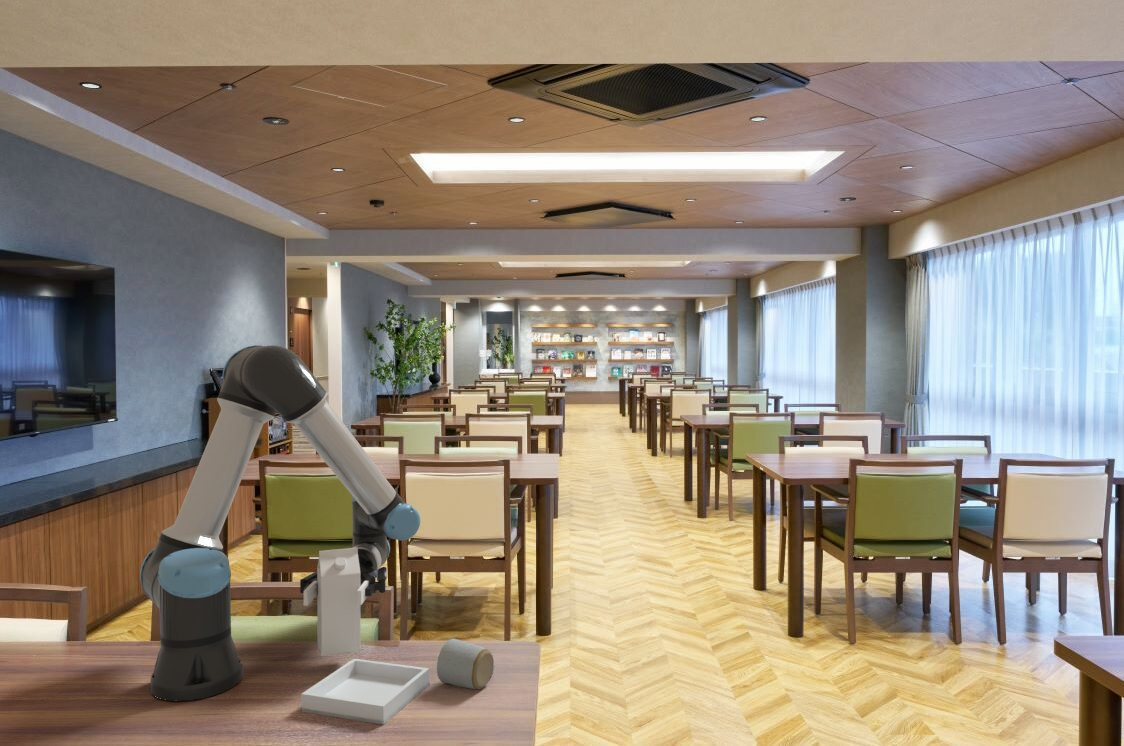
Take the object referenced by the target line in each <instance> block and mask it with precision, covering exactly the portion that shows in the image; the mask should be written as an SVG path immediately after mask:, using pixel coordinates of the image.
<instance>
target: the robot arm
mask: <svg viewBox="0 0 1124 746" xmlns="http://www.w3.org/2000/svg"><path fill="white" fill-rule="evenodd" d="M327 396H328V392H327V391H326V390H325V388H324V387H323V386H322V384H321V383H320V382H319V381H318V379H317V378H316V376H315V375H314V373H313V372H312V371H311V370H310V368H309V367H308V366H307V365H306V363H305V362H304V361H303V359H302V358H300V357H299V356H298V355H297V354H296V353H295V352H294V351H292V350H290V349H289V348H286V347H284V346H281V345H280V346H279V345H261V344H258V345H256V344H255V345H249V346H246V347H243V348H241V349H238V351H236V352H234V353H233V354H232V355H231V356H229V358H228V359H227V360H226V362H225V364H224V367H223V370H222V386H221V389H220V390H219V394H218V396H217V397H216V401H217V403H218V405H219V407H220V411H219V414H218V418H217V420H216V421H215V425H214V426H213V429H212V431H211V434H210V436H209V438H208V441H207V444H206V446H205V449H204V451H203V453H202V456H201V458H200V461H199V463H198V465H197V468H196V470H195V473H194V475H193V478H192V481H191V482H190V484H189V486H188V487H189V488H188V490H187V492H186V495H185V498H183V502H182V505H181V506H180V510H179V512H178V514H177V516H176V519H175V521H174V524H172V525H171V526H169V527H167V528H165V529H163V530H162V531H161V533H160V536H159V538H158V541H157V542H156V545H155V547H153V548H152V549H151V550H150V551H149V552H148V553H147V555H145V558H144V559H143V560H142V563H141V565H140V571H139V572H140V573H139V578H140V584H141V588H142V591H143V592H144V594H145V596H146V597H147V598H148V599H149V600H150V601H151V602H153V603H154V604H155V606H156V607H157V608H158V610H159V628H160V629H159V630H160V632H159V633H160V634H159V635H160V648H159V651H158V654H157V658H156V661H155V665H154V668H153V669H154V670H153V672H152V674H151V677H150V694H151V693H152V694H153V695H154V696H156V697H158V698H161V699H166V700H173V701H172V702H182V701H181V700H188V701H195V700H194V699H196V700H200V698H201V699H206V698H209V697H212V696H213V697H214V696H216V695H218V694H221V693H224V692H226V691H228V690H230V689H232V688H234V687H235V686H237V684H239V683H240V682H241V681H242V679H243V663H242V662H243V661H241V658H240V657H239V656H238V652H237V649H236V645H235V643H234V640H233V637H232V613H231V612H232V608H231V607H232V606H231V603H232V602H231V599H232V597H231V596H232V595H231V577H232V570H231V567H230V561H229V557H228V556H227V555H226V554H225V553H224V552H222V551H223V548H224V546H223V544H222V541H221V539H220V534H221V532H222V529H223V527H224V524H225V522H226V520H227V517H228V516H229V515H228V514H229V512H230V509H231V507H232V504H233V501H234V499H235V496H236V494H237V492H238V489H239V487H240V484H241V481H242V479H243V478H244V477H243V476H244V474H245V472H246V470H247V467H248V464H249V462H250V460H251V456H252V454H253V451H254V448H255V446H256V444H257V442H258V439H259V437H260V434H261V432H262V430H263V426H264V425H265V423H267V422H270V421H271V420H274V419H275V417H276V415H277V414H278V415H279V416H280V417H281V418H282V419H283V421H285V423H286V424H287V423H289V424H293V425H294V426H295V427H296V428H297V429H298V430H299V432H300V433H301V434H302V436H303V437H304V438H305V440H306V441H307V442H308V443H309V444H310V446H311V447H312V448H313V449H314V450H315V451H316V453H317V454H318V455H319V457H320V458H321V459H322V460H323V461H324V463H325V464H326V465H327V466H328V468H329V469H330V470H331V471H332V473H333V474H334V475H335V476H336V478H337V479H338V481H339V482H341V484H342V485H343V486H344V487H345V489H346V490H347V491H348V492H349V494H351V496H352V501H351V505H352V506H351V507H352V548H358V559H359V566H360V588H359V589H358V590H357V605H360V606H362V605H363V604H364V602H365V601H366V599H367V598H368V597H371V596H373V595H374V594H375V593H376V592H377V591H378V592H379V593H381V594H384V593H386V581H387V575H388V574H387V569H388V568H387V567H386V566H384V564H385V563H386V562H387V560H388V558H389V555H390V552H391V546H390V543H389V540H388V539H387V538H389V539H391V540H397V541H407V540H409V539H411V538H412V537H414V536H415V535H416V534H417V532H418V531H419V529H420V526H421V515H420V513H419V511H418V510H417V509H416V508H415V507H413V506H412V505H411V504H409V503H406V502H405V500H403V499H402V497H401V496H400V494H399V493H397V491H396V490H395V489H394V487H393V486H392V484H391V483H390V482H389V481H388V480H387V478H386V477H385V476H384V474H383V473H382V471H380V469H379V467H378V466H377V465H376V464H375V463H374V461H373V459H371V457H370V456H369V454H368V453H367V452H366V450H365V449H364V448H363V447H362V446H361V444H360V443H359V441H358V440H357V439H356V437H355V436H354V435H353V433H352V432H351V431H350V430H349V428H348V427H347V426H346V424H345V423H344V422H343V421H342V419H341V418H340V416H338V414H337V413H336V411H335V410H334V409H333V407H332V406H331V404H329V402H328V401H327ZM299 585H300V586H299V587H300V589H299V590H300V591H299V593H301V594H303V606H305V607H307V606H309V605H310V604H311V602H313V600H314V599H315V598H316V597H317V571H314V572H312V573H311V574H309V575H307V576H305V577H303V578H301V579H300V582H299ZM152 694H151V695H152ZM153 695H152V696H153ZM154 696H153V697H154ZM161 699H160V700H161ZM166 700H165V701H166ZM175 700H177V701H175ZM179 700H180V701H179Z"/></svg>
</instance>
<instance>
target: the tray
mask: <svg viewBox="0 0 1124 746" xmlns="http://www.w3.org/2000/svg"><path fill="white" fill-rule="evenodd" d="M429 686H430V668H428V667H421V666H413V665H407V664H399V663H398V664H397V663H391V662H384V661H376V660H368V659H361V658H360V659H359V658H352V659H351V660H350V661H347V663H345V664H344V665H342V666H341V667H339V668H338V669H336V670H335V671H333V672H331V673H330V674H329V675H328V676H326V677H324V678H323V679H321V680H320V681H318V682H317V683H315V684H314V685H312V686H311V687H309V688H307V689H306V690H305V691H303V692H302V693H301V713H309V714H314V715H320V716H327V717H331V718H332V717H333V718H340V719H346V720H351V721H352V720H353V721H359V722H365V723H370V724H376V725H385V724H386V723H388V722H389V721H390V720H391V719H393V718H394V716H396V715H397V714H398V713H399V712H400V711H401V710H403V708H405V707H406V706H407V705H408V704H409V703H410V702H412V701H413V700H414V699H416V697H417V696H419V695H420V694H421V693H422V692H423V691H424V690H425V689H426V688H428V687H429Z"/></svg>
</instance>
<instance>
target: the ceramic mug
mask: <svg viewBox="0 0 1124 746" xmlns="http://www.w3.org/2000/svg"><path fill="white" fill-rule="evenodd" d="M494 661H495V660H494V656H493V654H492V652H491V651H490V650H489V649H488V648H485V647H483V646H481V645H477V644H473V643H470V642H468V641H464V640H460V639H457V638H451V639H448V640H447V641H446V642H445V643H444V645H443V646H442V647H441V649H440V651H439V654H438V657H437V663H436V674H437V678H438V680H439V681H440V683H443V684H447V685H448V684H449V685H451V686H456V687H462V688H465V689H466V688H467V689H470V690H480V689H483V688H484V687H486V685H487V684H488V683H489V681H490V680H491V678H492V675H494V671H495V665H494Z"/></svg>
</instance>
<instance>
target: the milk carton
mask: <svg viewBox="0 0 1124 746" xmlns="http://www.w3.org/2000/svg"><path fill="white" fill-rule="evenodd" d="M316 568H317V596H316V597H317V605H316V606H317V608H316V609H317V612H316V613H317V617H316V619H317V621H316V622H317V623H316V624H317V626H316V627H317V628H316V629H317V638H316V639H317V646H318V649H319V653H320V655H321V657H328V656H335V655H337V656H338V655H342V654H343V655H344V654H350V653H357V652H360V651H361V647H362V645H361V642H362V641H361V637H362V635H361V605H357V590H358V589H359V588H360V566H359V559H358V548H353V547H349V548H338V549H329V550H328V549H325V550H319V551H318V561H317V567H316Z"/></svg>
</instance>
